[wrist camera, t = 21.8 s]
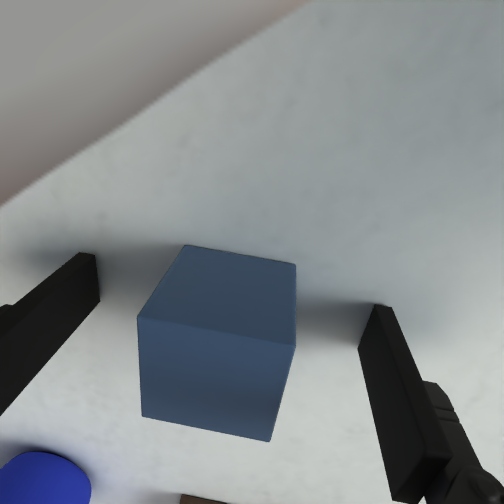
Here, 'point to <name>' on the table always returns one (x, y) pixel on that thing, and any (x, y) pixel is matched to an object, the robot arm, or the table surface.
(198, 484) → the table surface
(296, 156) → the table surface
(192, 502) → the tray
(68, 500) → the mug
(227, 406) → the blue block
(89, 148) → the table surface
